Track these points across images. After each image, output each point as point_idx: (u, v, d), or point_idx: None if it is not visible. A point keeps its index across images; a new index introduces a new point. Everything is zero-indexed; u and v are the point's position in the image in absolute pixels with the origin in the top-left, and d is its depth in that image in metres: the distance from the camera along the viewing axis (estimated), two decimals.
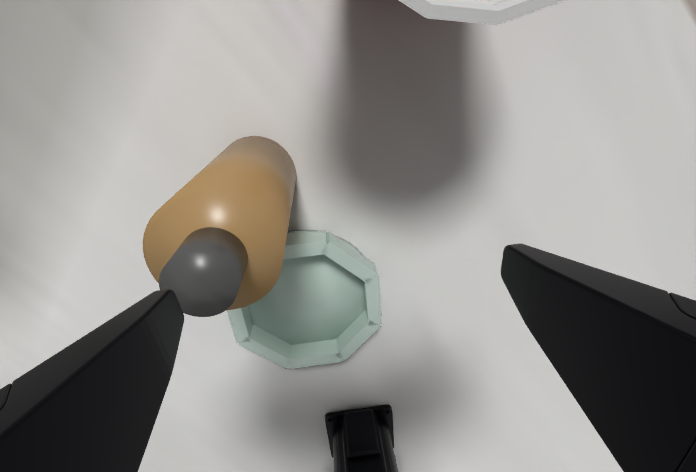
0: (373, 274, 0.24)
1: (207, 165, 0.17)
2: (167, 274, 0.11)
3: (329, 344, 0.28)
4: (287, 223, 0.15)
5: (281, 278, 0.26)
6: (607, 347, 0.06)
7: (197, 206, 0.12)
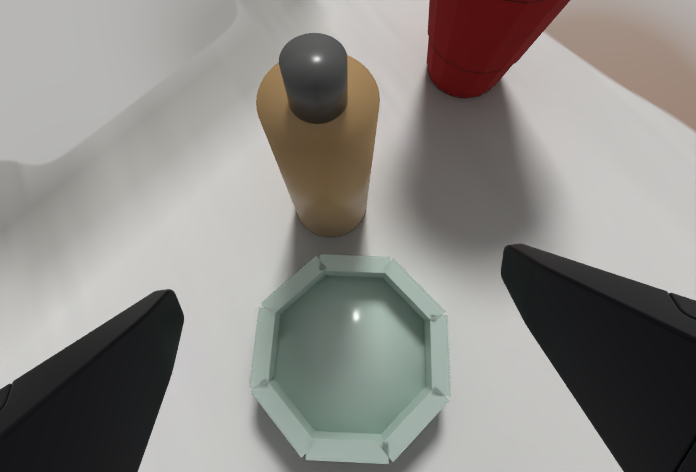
0: (440, 310, 0.20)
1: None
2: (291, 45, 0.12)
3: (370, 436, 0.19)
4: None
5: (327, 314, 0.22)
6: (607, 347, 0.06)
7: None
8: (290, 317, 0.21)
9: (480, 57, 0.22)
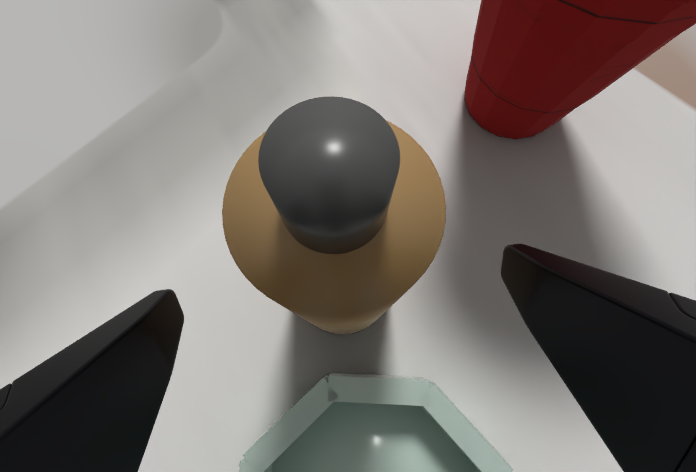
0: (506, 468, 0.14)
1: None
2: (284, 123, 0.06)
3: None
4: None
5: (339, 457, 0.15)
6: (607, 347, 0.06)
7: None
8: (287, 462, 0.15)
9: (551, 94, 0.16)
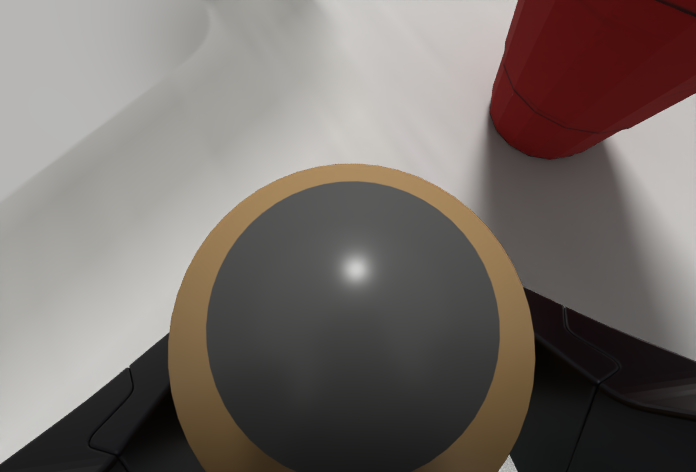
0: None
1: None
2: (262, 240, 0.03)
3: None
4: None
5: None
6: None
7: None
8: None
9: (608, 112, 0.13)
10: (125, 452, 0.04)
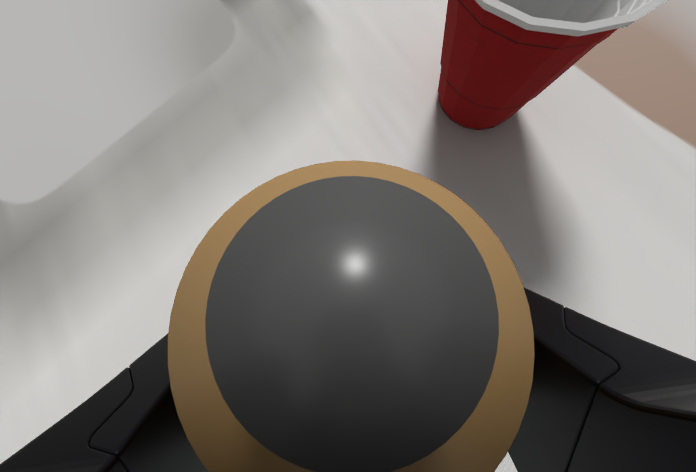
0: None
1: None
2: (260, 234, 0.03)
3: None
4: None
5: None
6: None
7: None
8: None
9: (498, 95, 0.20)
10: (125, 452, 0.04)
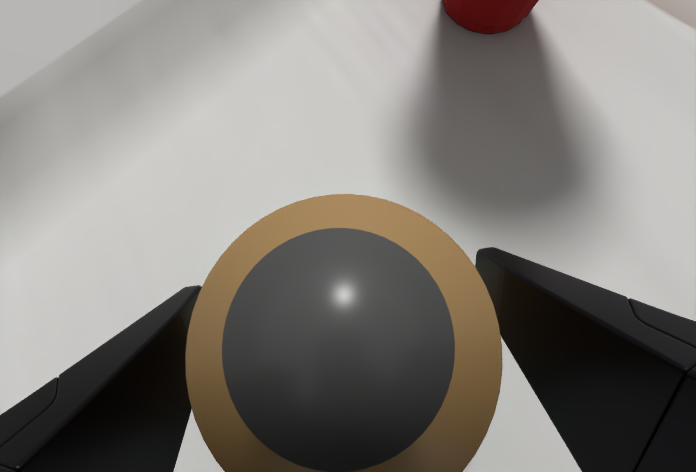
0: None
1: None
2: (266, 277, 0.04)
3: None
4: None
5: None
6: (568, 353, 0.06)
7: (344, 219, 0.06)
8: None
9: None
10: (28, 466, 0.04)
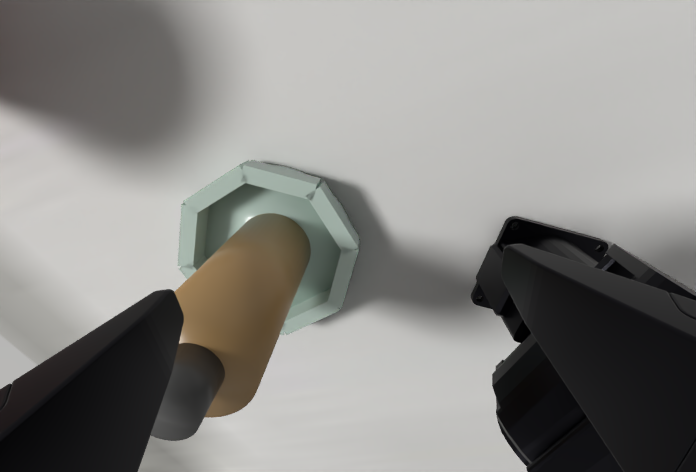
0: (237, 169, 0.20)
1: None
2: None
3: (340, 252, 0.22)
4: (234, 278, 0.15)
5: None
6: (607, 347, 0.06)
7: None
8: None
9: None
10: None
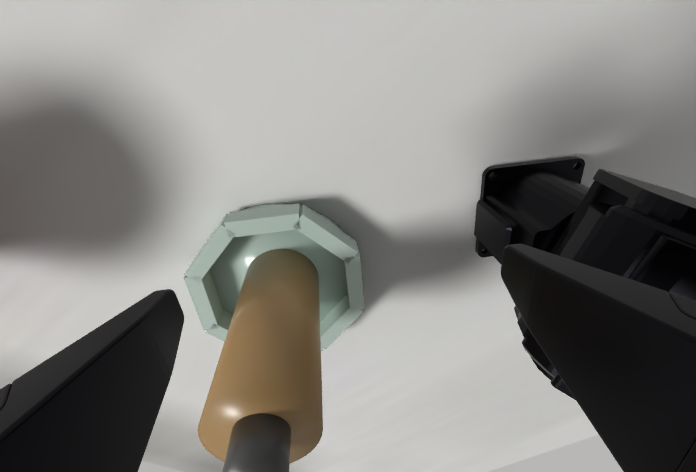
0: (221, 228, 0.20)
1: None
2: None
3: None
4: (262, 338, 0.15)
5: None
6: (607, 347, 0.06)
7: (212, 440, 0.14)
8: None
9: None
10: None
